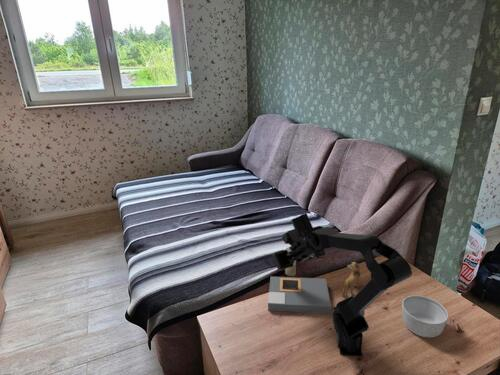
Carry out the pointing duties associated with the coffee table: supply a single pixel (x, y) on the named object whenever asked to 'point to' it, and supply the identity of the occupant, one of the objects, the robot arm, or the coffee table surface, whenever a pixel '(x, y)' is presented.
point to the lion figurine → (352, 278)
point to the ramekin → (424, 316)
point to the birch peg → (291, 270)
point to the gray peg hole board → (299, 295)
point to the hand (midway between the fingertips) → (288, 260)
